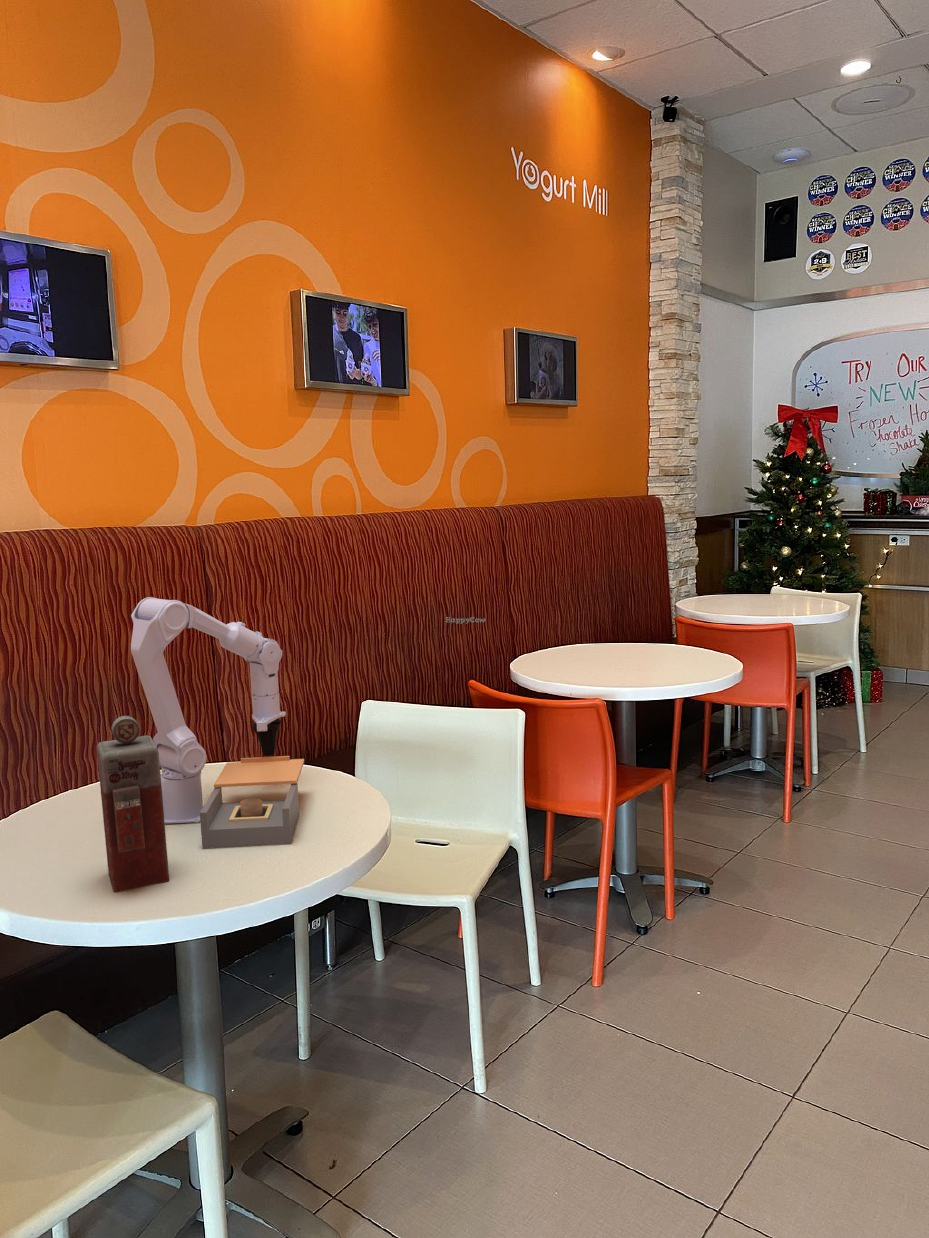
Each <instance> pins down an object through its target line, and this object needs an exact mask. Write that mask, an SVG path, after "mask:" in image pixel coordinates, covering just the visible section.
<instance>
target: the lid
mask: <svg viewBox="0 0 929 1238" xmlns="http://www.w3.org/2000/svg"><path fill="white" fill-rule="evenodd" d="M290 757H291V756H290V755H279V756H277V755H276V756H260V757H259V756H257V757H256V756H255V757H241V758H240V761H229V762H228V761H227V762H226V764H225V765H224V767H223V768H222V769H221V772H220V774H219V775H218V777H216V778H217V779H216V780H215V782H214V783H213V788H215V787H221V788H230V787H231V788H232V787H233V788H234V787H250V786H269V785H271V786H272V785H291V784H296V783H297V784H298V781H299V778H300V775H301V772H302V769H303V767H304V764H305V758H293V759H291V758H290Z"/></svg>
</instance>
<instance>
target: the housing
mask: <svg viewBox="0 0 929 1238" xmlns="http://www.w3.org/2000/svg"><path fill="white" fill-rule="evenodd" d="M298 787H299V786H298V782H297V783H296V784H290V786H289V789H288V791H287V794H286V798H285V799H281V800H280V799H277V800H262V811H263V816H260V817H241V807H240V802H241V801H239V802H237V801H236V802H234V801H233V802H223V792H222V791H223V790H222V787H213V789H212V791H211V793H210V795H209V796H208V799H207V800H206V802H205V803H204V804H203V806H204V807H203V808H202V810H201V812H200V822H199V823H200V832H201V833H200V834H201V847H202V848H201V849H221V848H224V849H225V848H237V847H240V848H241V847H242V848H243V847H255V846H257V847H261V846H277V845H279V846H280V845H291V844H292V842H293V840H294V839H293V838H294V836H295V831H296V829H297V825H298V822H299V819H300V804H299V789H298Z"/></svg>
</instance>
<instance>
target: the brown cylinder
mask: <svg viewBox="0 0 929 1238" xmlns="http://www.w3.org/2000/svg"><path fill="white" fill-rule="evenodd" d="M262 801H263V800H262V799H261V798H259V797H258V798H257V797H250V798H245V799H242V800H241V801H239V802H240V807H241V817H260V816H263V811H262Z"/></svg>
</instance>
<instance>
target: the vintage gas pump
mask: <svg viewBox="0 0 929 1238" xmlns="http://www.w3.org/2000/svg"><path fill="white" fill-rule="evenodd" d="M140 729H141V728H140V726H139V724H138V722H137V720H136V719H135V718H134V717H132V716H130V715H122V716H119V717H117V718H116V719H114V721H113V722H112V725H111V733H112V736H113V738H114V739H112V740H106V741H100V742H98V743H97V745H96V754H97V765H98V776H99V785H100V796H101V797H100V798H101V807H102V820H103V829H104V839H105V840H104V841H105V851H106V862H107V873H108V877H109V881H110V885H111V889H112V892H113V893H119V892H123V891H125V892H126V891H128V890H129V891H130V890H134V889H139V888H145V887H148V886H154V885H157V884H162V883H167V882H170V870H169V859H168V847H167V835H166V834H167V833H166V824H165V822H164V810H163V798H162V786H161V774H162V773H161V767H160V762H159V752H158V749H157V747H156V745H155V744H154V741H153V738H152V737H151V736H150V735H141V736H139V734H140Z"/></svg>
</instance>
